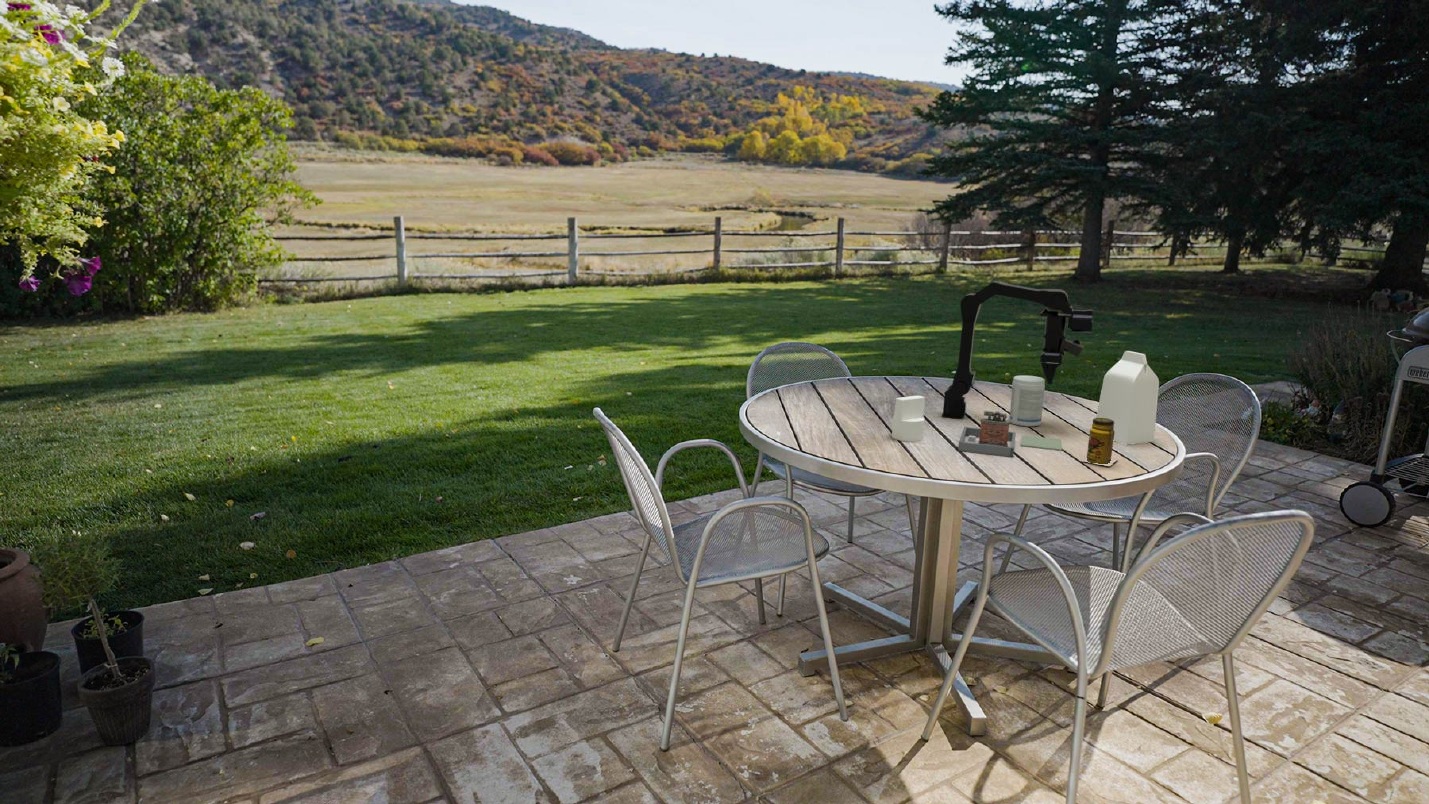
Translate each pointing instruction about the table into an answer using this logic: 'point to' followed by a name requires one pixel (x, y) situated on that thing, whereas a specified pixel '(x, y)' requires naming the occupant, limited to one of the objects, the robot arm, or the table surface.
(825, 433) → the table surface
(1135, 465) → the table surface
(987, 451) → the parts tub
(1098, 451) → the condiment
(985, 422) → the lighter
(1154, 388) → the milk
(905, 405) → the base with upright slab
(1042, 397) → the supplement tub
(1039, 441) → the mat
